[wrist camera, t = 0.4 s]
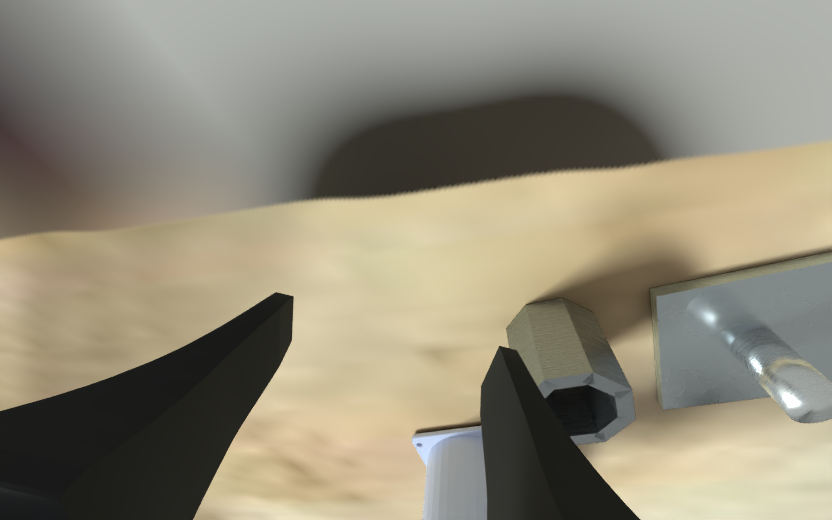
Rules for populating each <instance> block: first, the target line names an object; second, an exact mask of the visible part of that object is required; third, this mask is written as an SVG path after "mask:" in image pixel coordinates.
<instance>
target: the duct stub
mask: <svg viewBox="0 0 832 520" xmlns="http://www.w3.org/2000/svg"><path fill="white" fill-rule="evenodd" d="M650 298H651V312H652V326H653V341H654V355H655V369H656V383H657V398H658V402H659V403H660V405H661V407H662V409H663V410H667V409H675V408H683V407H692V406H700V405H708V404H716V403H725V402H733V401H741V400H749V399H757V398H766V397H772V398H773V399H774V400H775V401H776V403H777V404H778V405H779V406H780V407H781V408H782V409H783V410H784V411H785V412H786V414H787V415H788V416H789V417H790V418H791V419H792V420H794V421H797V422H800V423H818V422H823V421H826V420H829V419H832V252H827V253H822V254H817V255H812V256H808V257H803V258H798V259H793V260H788V261H783V262H778V263H773V264H768V265H764V266H759V267H754V268H749V269H744V270H739V271H734V272H729V273H724V274H720V275H715V276H710V277H705V278H700V279H695V280H690V281H685V282H680V283H676V284H671V285H666V286H661V287H656V288H651V289H650Z"/></svg>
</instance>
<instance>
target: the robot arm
mask: <svg viewBox="0 0 832 520" xmlns="http://www.w3.org/2000/svg"><path fill="white" fill-rule="evenodd" d="M293 297H294V296H290V295H285V294H281V293H277V292H276V293H274V294H272V295H271V296H269V297H267V298H266V299H264V300H263V301H261V302H260V303H258V304H256V305H255V306H253V307H252V308H250V309H249V310H247V311H245V312H244V313H242V314H241V315H239V316H237V317H236V318H234V319H232V320H231V321H229V322H227V323H226V324H224V325H222V326H221V327H219V328H217V329H215V330H214V331H212V332H210V333H208V334H206V335H204V336H203V337H201V338H199V339H197V340H195V341H193V342H192V343H190V344H188V345H186V346H184V347H182V348H180V349H178V350H175V351H173V352H171V353H169V354H167V355H165V356H162V357H160V358H158V359H156V360H153V361H151V362H149V363H146V364H144V365H141V366H139V367H136V368H133V369H131V370H128V371H126V372H123V373H121V374H118V375H116V376H113V377H111V378H108V379H105V380H102V381H99V382H96V383H93V384H91V385H88V386H85V387H82V388H78V389H75V390H72V391H69V392H66V393H63V394H60V395H56V396H53V397H50V398H46V399H43V400H39V401H36V402H32V403H28V404H25V405H21V406H18V407H14V408H10V409H7V410H3V411H0V520H193V518H194V516H195V514H196V512H197V510H198V508H199V506H200V504H201V502H202V499H203V497H204V495H205V493H206V492H207V490H208V488H209V486H210V484H211V482H212V480H213V478H214V476H215V474H216V472H217V470H218V468H219V466H220V464H221V462H222V460H223V458H224V456H225V454H226V452H227V450H228V448H229V446H230V445H231V443H232V441H233V439H234V437H235V435H236V434H237V432H238V430H239V429H240V427H241V425H242V424H243V422H244V421H245V419H246V417H247V416H248V414H249V413H250V411H251V410H252V408H253V407H254V405H255V404H256V402H257V400H258V399H259V397H260V396H261V394H262V393H263V391H264V390H265V388H266V387H267V385H268V383H269V382H270V380H271V379H272V377H273V376H274V374H275V372H276V371H277V369H278V368H279V366H280V364H281V362H282V360H283V358H284V356H285V354H286V352H287V350H288V347H289V345H290V343H291V341H292V322H293ZM480 417H481V426H474V427H466V428H458V429H450V430H443V431H435V432H427V433H419V434H414V435H413V436H412V443H413V444H414V446H415V448H416V450H417V451H418V453H419V455H420V456H421V458H422V460H423V462H424V463H425V465H426V467H427V469H426V481H425V493H424V505H423V516H422V520H640V519H639V518H638V517H637V516H636V515H635V514H634V513H633V511H632V510H631V509H630V508H629V507H628V506H627V505H626V504H625V503H624V502H623V501H622V500H621V499H620V497H619V496H618V495H617V494H616V493H615V492H614V491H613V489H612V488H611V487H610V486H609V485H608V484H607V483H606V482H605V480H604V479H603V478H602V477H601V476H600V474H599V473H598V472H597V471H596V470H595V469H594V467H593V466H592V465H591V463H590V462H589V461H588V460H587V458H586V457H585V456H584V455H583V453H582V452H581V451H580V449H579V448H578V447H577V446H576V444H575V443H574V441H573V440H572V439H571V437H570V436H569V435H568V433H567V432H566V430H565V429H564V427H563V426H562V424H561V423H560V421H559V420H558V419H557V417H556V415H555V414H554V412H553V411H552V409H551V408H550V406H549V404H548V403H547V401H546V400H545V398H544V396H543V395H542V393H541V391H540V390H539V388H538V386H537V385H536V383H535V381H534V379H533V378H532V376H531V374H530V372H529V371H528V369H527V367H526V365H525V364H524V362H523V360H522V358H521V357H520V355H519V353H518V351H517V350H514V349H510V348H506V347H502V346H499V348H498V350H497V352H496V355H495V357H494V359H493V361H492V363H491V366H490V368H489V370H488V372H487V374H486V377H485V379H484V381H483V383H482V386H481V409H480Z"/></svg>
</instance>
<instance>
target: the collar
mask: <svg viewBox="0 0 832 520" xmlns="http://www.w3.org/2000/svg"><path fill="white" fill-rule="evenodd" d="M506 331H507V337H508V343H509V348H510V349H514V350H517V351H518V353H519V355H520V357H521V358H522V360H523V362H524V364H525V365H526V367H527V369H528V371H529V372H530V374H531V376H532V378H533V379H534V381H535V383H536V385H537V386H538V388H539V390H540V391H541V393H542V395H543V396H544V398H545V400H546V401H547V403H548V404H549V406H550V408H551V409H552V411H553V412H554V414H555V415H556V417H557V419H558V420H559V421H560V423H561V424H562V426H563V427H564V429H565V430H566V432H567V433H568V435H569V436H570V437H571V439H572V440H573V441H574V443H575V444H576V445H579V444H589V443H599V442H606V441H607V440H609V439H610V438H611V437H613V436H614V435H615V434H617V433H618V432H619V431H621V430H622V429H623V428H625V427H626V426H627V425H629V424H630V423H631V422H633V421H634V420H635V419H636V418H635V410H634V401H633V392H632V388H631V386H630V384H629V382H628V380H627V379H626V377H625V375H624V373H623V371H622V369H621V367H620V365H619V363H618V361H617V359H616V357H615V355H614V353H613V351H612V349H611V347H610V345H609V343H608V341H607V339H606V338H605V336H604V334H603V332H602V330H601V328H600V326H599V324H598V322H597V320H596V318H595V316H594V314H593V312H592V311H589V310H587V309H585V308H583V307H581V306H579V305H577V304H575V303H572V302H570V301H568V300H566V299H564V298H557V299H553V300H548V301H543V302H539V303H534V304H529V305H525V306H524V307H523V309H522V310H521V311H520V312H519V314H518V315H517V316H516V317H515V319H514V320H513V321H512V322H511V323H510V325H509V326H508V327H507V328H506Z"/></svg>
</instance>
